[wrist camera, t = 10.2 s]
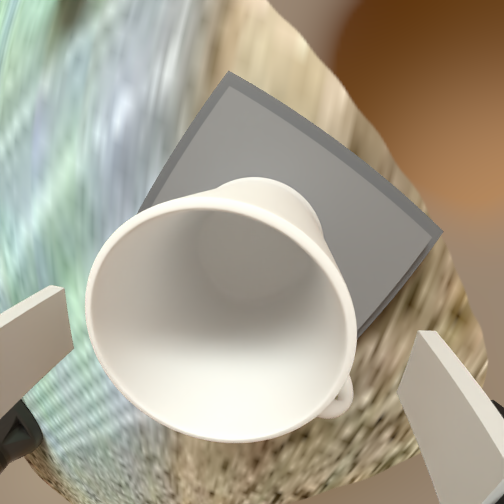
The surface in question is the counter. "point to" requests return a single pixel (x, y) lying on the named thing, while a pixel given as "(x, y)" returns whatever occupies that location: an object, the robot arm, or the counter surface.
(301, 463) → the counter surface
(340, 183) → the podium
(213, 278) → the mug
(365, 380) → the counter surface
